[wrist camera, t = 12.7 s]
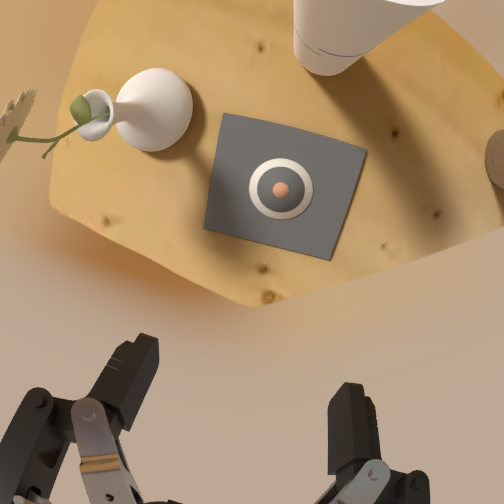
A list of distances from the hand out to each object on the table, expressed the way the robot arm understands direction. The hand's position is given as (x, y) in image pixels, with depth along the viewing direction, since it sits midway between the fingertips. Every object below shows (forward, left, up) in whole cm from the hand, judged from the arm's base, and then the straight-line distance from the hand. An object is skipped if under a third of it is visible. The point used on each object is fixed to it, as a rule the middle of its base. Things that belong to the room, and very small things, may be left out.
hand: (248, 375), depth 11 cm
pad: (0, 0, -28) cm, 28 cm away
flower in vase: (+19, -7, -28) cm, 35 cm away
